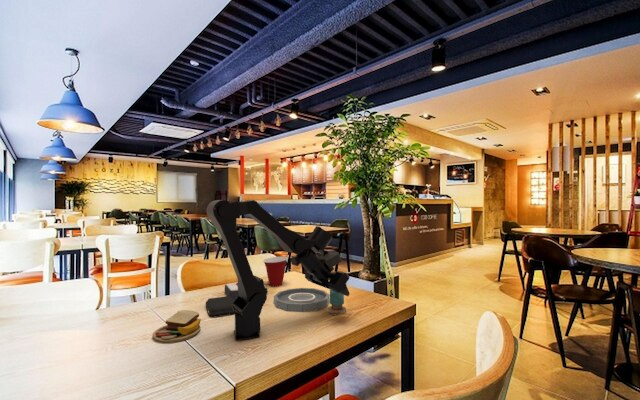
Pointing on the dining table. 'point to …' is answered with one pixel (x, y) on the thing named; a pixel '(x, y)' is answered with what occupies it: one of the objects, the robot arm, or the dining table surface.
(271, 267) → the plastic cup
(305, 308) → the round tray
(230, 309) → the carrying case or bag
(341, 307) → the bead spool
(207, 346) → the dining table surface
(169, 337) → the toy sandwich meal
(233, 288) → the calculator
